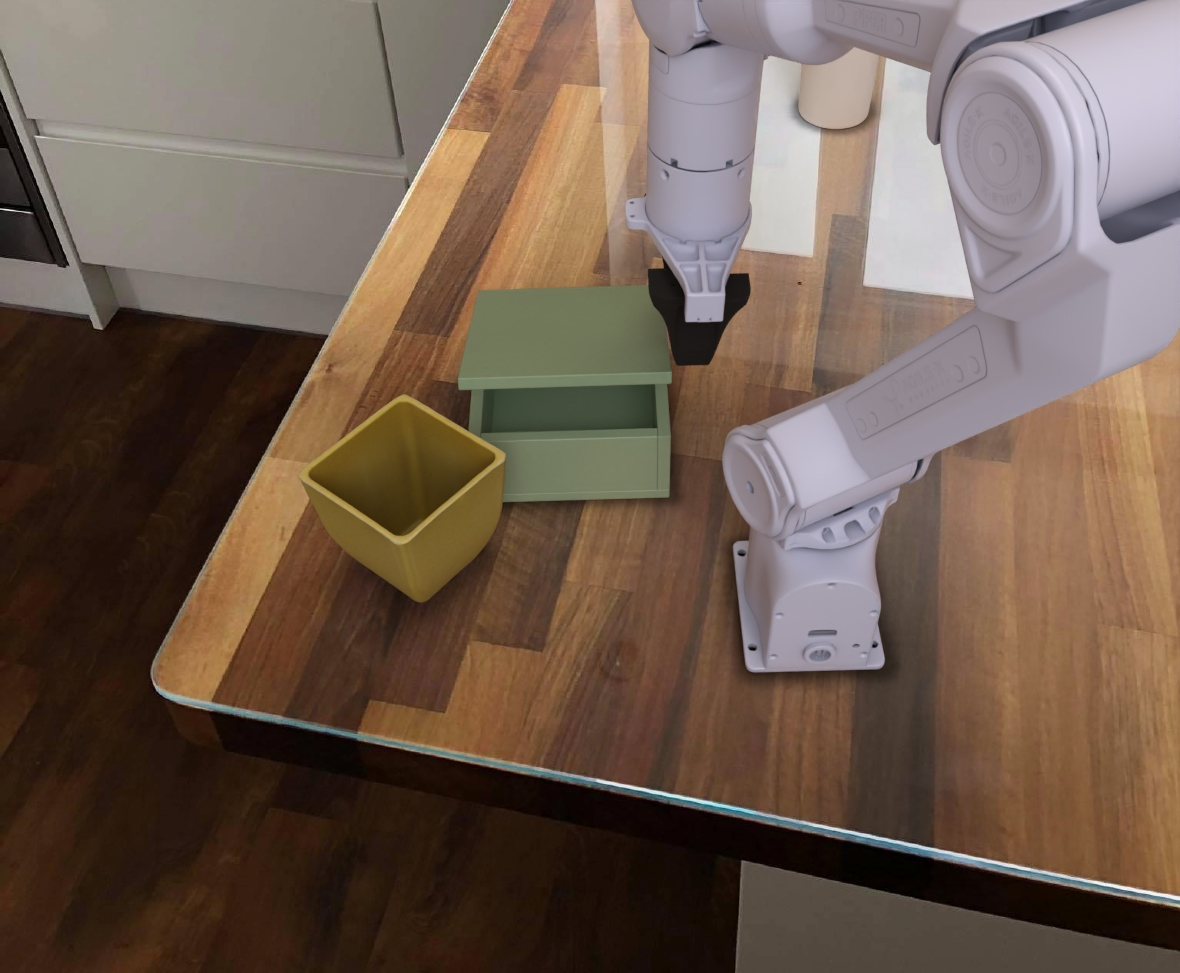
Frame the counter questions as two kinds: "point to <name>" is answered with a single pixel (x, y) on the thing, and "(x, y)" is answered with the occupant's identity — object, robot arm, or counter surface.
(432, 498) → the flower pot
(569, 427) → the bread box
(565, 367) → the bread lid
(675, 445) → the counter surface
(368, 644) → the counter surface
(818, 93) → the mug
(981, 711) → the counter surface
